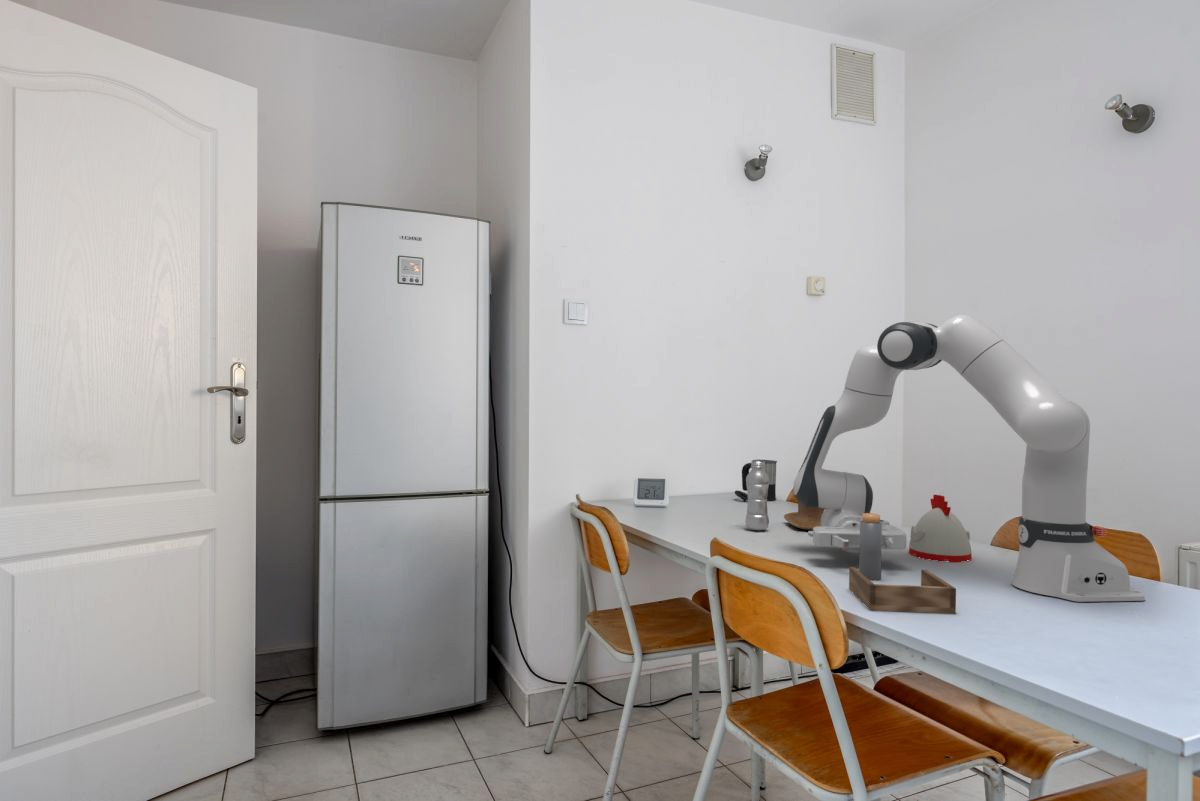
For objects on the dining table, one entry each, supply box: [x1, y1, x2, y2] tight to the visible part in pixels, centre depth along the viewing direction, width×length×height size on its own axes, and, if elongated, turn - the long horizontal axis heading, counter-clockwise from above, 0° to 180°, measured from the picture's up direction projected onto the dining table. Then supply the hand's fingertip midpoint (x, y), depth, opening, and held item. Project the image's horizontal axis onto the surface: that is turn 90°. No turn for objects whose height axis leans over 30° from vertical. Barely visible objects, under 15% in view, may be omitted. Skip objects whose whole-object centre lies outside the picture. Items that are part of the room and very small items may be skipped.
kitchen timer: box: [908, 494, 972, 563], centre depth 173 cm, size 14×14×15 cm
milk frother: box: [734, 459, 778, 502], centre depth 264 cm, size 14×16×15 cm
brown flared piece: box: [783, 501, 826, 531], centre depth 208 cm, size 15×12×15 cm
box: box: [848, 566, 957, 615], centre depth 134 cm, size 15×14×4 cm
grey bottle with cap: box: [858, 512, 883, 581], centre depth 151 cm, size 4×4×14 cm
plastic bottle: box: [744, 460, 770, 532], centre depth 203 cm, size 6×7×20 cm
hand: (867, 544), depth 153 cm, fingers open, 8 cm apart
